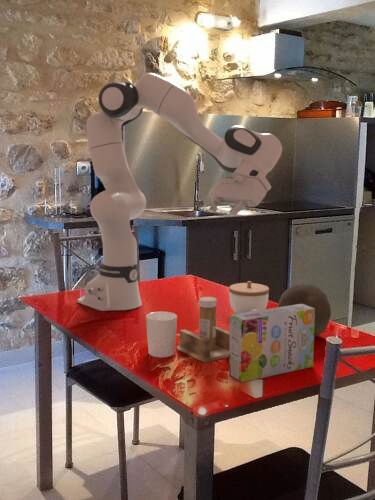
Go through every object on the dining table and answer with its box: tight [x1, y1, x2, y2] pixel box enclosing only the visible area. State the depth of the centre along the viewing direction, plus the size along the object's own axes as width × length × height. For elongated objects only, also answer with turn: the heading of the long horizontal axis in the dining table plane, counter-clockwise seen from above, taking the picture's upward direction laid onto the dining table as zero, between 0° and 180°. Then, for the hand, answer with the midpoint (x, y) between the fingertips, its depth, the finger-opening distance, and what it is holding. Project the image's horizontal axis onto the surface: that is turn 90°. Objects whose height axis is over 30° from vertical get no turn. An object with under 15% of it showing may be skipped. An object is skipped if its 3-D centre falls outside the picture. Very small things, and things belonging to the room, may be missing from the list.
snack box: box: [228, 304, 315, 383], centre depth 137 cm, size 21×6×15 cm, turn 118°
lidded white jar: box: [228, 280, 270, 314], centre depth 183 cm, size 13×13×11 cm
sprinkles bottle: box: [198, 296, 218, 351], centre depth 150 cm, size 5×5×14 cm
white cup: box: [145, 311, 178, 358], centre depth 149 cm, size 8×8×10 cm
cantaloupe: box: [277, 284, 332, 338], centre depth 162 cm, size 14×14×15 cm
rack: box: [176, 326, 230, 363], centre depth 151 cm, size 12×11×5 cm
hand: (221, 212), depth 172 cm, fingers open, 8 cm apart
